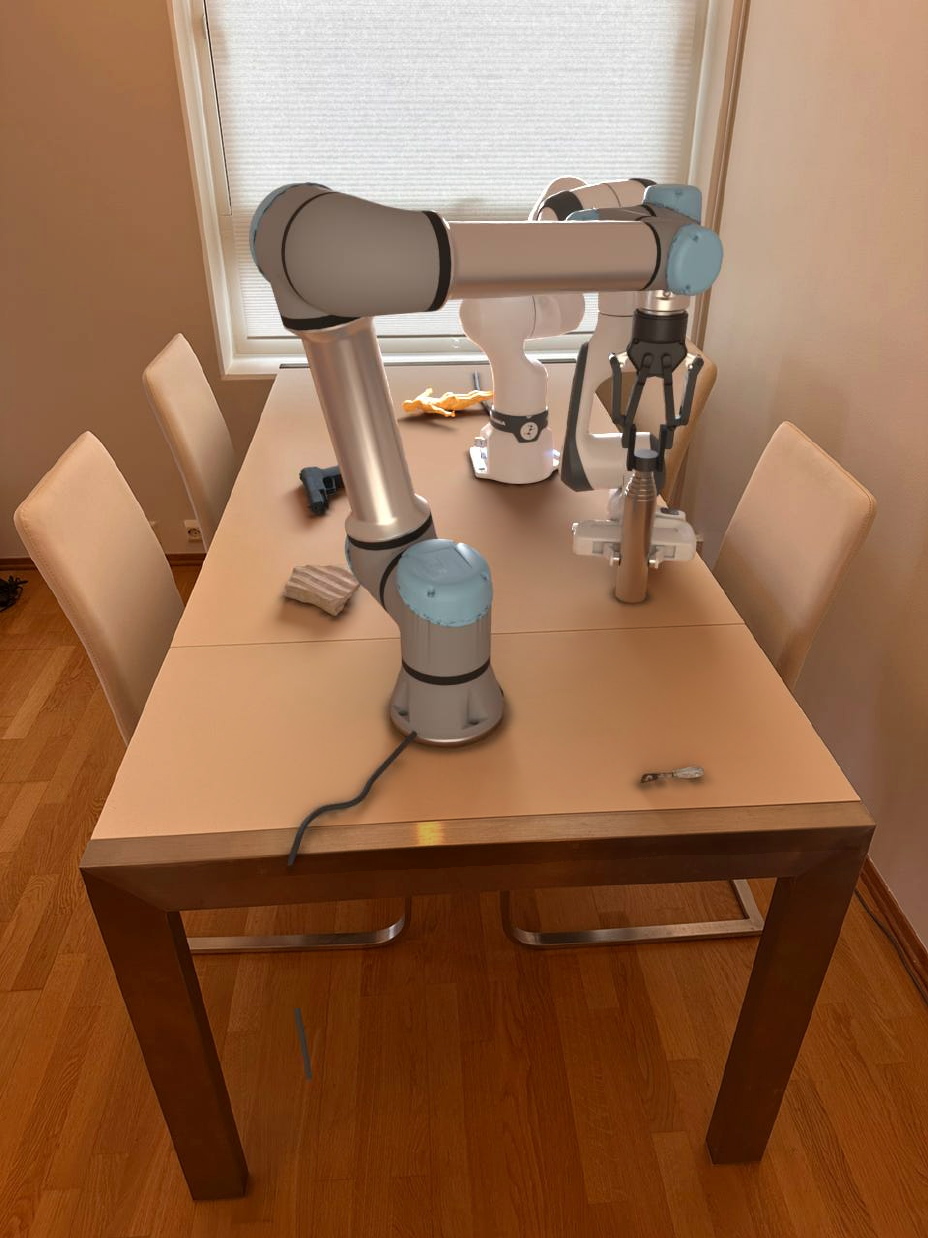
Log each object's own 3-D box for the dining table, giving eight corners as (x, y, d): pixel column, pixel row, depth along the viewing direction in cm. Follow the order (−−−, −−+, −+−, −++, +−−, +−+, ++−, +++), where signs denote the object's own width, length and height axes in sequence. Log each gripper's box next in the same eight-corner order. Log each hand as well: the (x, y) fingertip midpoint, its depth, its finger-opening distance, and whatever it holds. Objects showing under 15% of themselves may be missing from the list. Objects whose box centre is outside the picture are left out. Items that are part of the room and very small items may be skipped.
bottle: (614, 601, 146) (627, 462, 133) (616, 586, 150) (629, 450, 137) (644, 604, 145) (661, 465, 132) (645, 589, 149) (661, 453, 136)
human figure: (395, 413, 223) (394, 398, 221) (438, 390, 237) (438, 375, 235) (462, 429, 215) (462, 413, 213) (502, 404, 229) (503, 388, 227)
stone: (372, 582, 151) (371, 569, 149) (337, 617, 141) (336, 603, 140) (307, 569, 155) (305, 556, 154) (268, 602, 146) (266, 588, 144)
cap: (626, 463, 136) (628, 450, 135) (650, 461, 137) (651, 447, 136) (637, 473, 133) (639, 459, 132) (661, 470, 134) (663, 456, 133)
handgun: (369, 509, 176) (308, 516, 174) (354, 474, 190) (298, 480, 188) (368, 494, 174) (307, 501, 172) (353, 460, 189) (296, 466, 186)
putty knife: (703, 777, 109) (705, 767, 109) (642, 788, 108) (644, 777, 107) (700, 772, 110) (702, 762, 109) (639, 782, 109) (640, 771, 108)
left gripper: (601, 314, 120) (589, 476, 133) (727, 316, 119) (703, 479, 132) (598, 301, 127) (587, 457, 139) (718, 303, 126) (696, 460, 138)
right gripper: (573, 505, 154) (570, 541, 143) (694, 512, 152) (701, 549, 140) (571, 538, 158) (568, 576, 146) (689, 545, 155) (695, 584, 143)
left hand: (644, 467), depth 135 cm, fingers closed on cap, 4 cm apart
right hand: (634, 563), depth 143 cm, fingers closed on bottle, 5 cm apart
